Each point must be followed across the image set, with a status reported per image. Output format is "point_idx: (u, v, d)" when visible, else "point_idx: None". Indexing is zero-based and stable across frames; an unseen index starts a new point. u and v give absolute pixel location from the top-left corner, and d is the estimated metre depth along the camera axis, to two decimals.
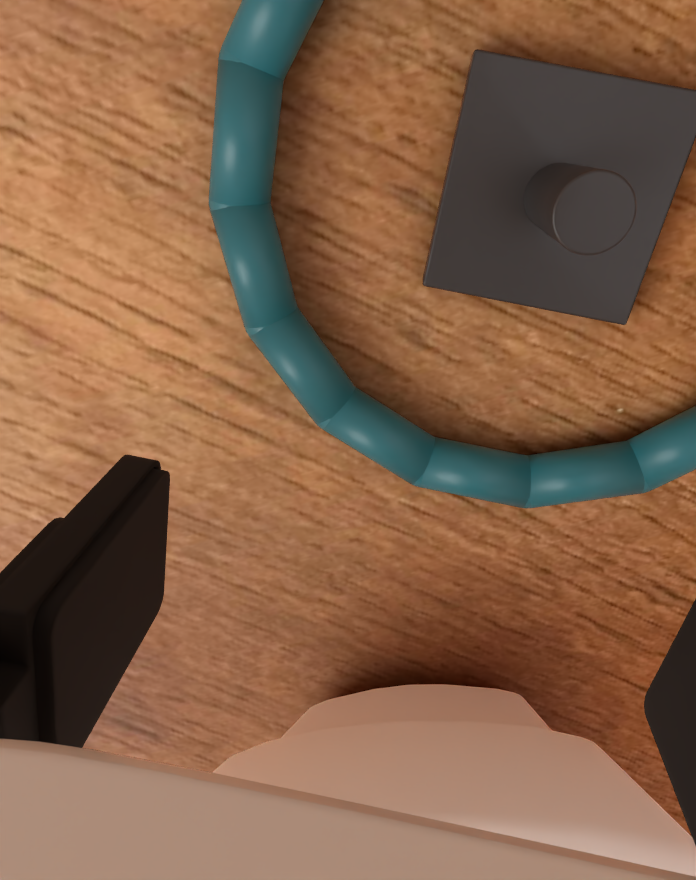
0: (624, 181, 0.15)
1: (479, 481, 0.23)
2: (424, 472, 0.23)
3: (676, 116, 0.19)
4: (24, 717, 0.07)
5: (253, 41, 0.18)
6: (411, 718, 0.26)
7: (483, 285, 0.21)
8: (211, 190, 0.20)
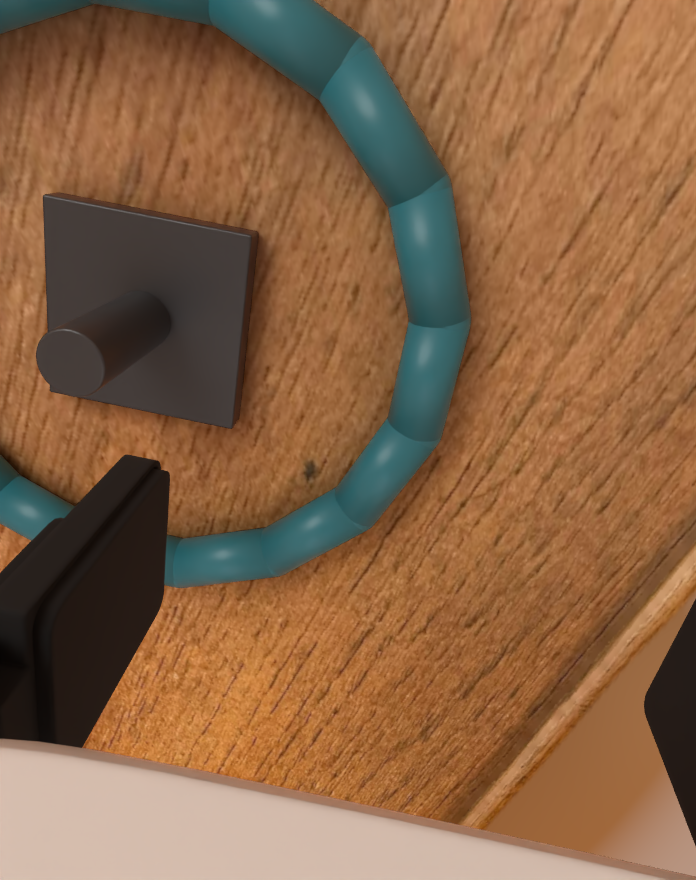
0: (98, 384, 0.18)
1: None
2: None
3: (214, 406, 0.23)
4: (24, 717, 0.07)
5: None
6: None
7: (55, 258, 0.22)
8: None
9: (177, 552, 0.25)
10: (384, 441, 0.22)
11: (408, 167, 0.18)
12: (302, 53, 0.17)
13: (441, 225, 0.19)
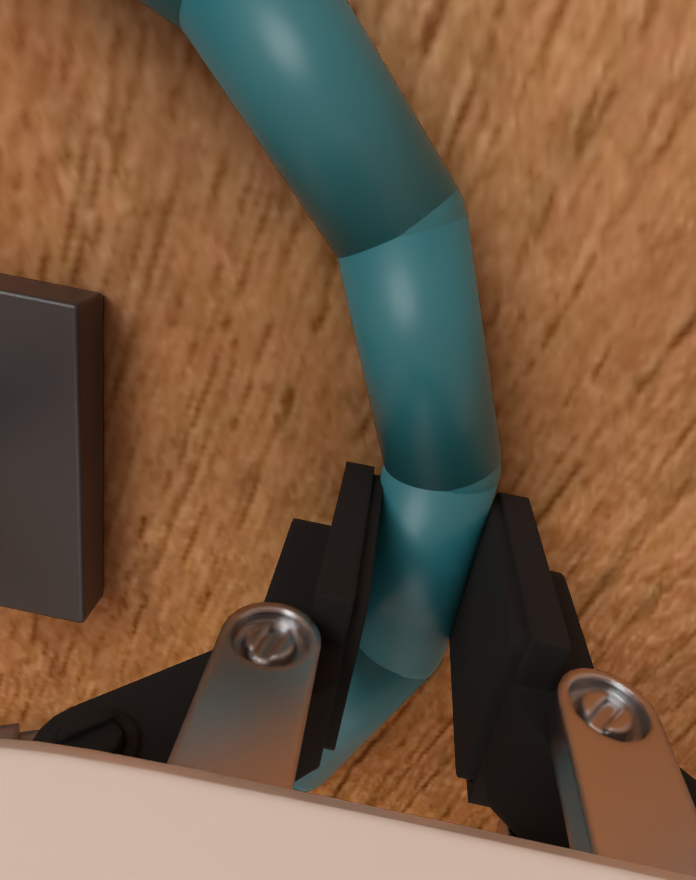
0: None
1: None
2: None
3: (48, 590, 0.13)
4: None
5: None
6: None
7: None
8: None
9: None
10: None
11: (374, 176, 0.08)
12: None
13: (445, 297, 0.09)
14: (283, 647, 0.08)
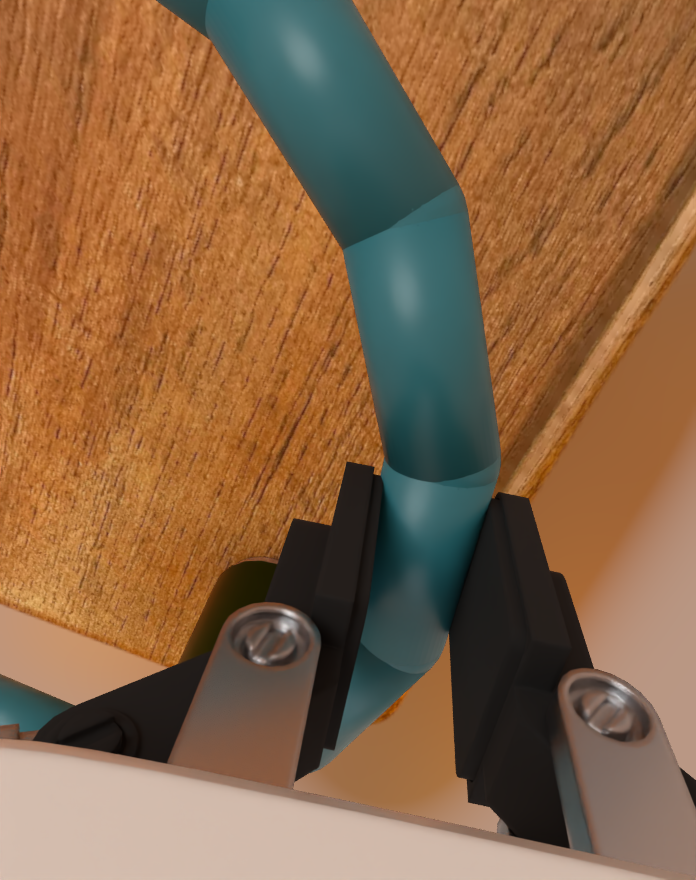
0: None
1: None
2: None
3: None
4: None
5: None
6: None
7: None
8: None
9: None
10: None
11: (367, 171, 0.09)
12: None
13: (435, 289, 0.09)
14: (283, 647, 0.08)
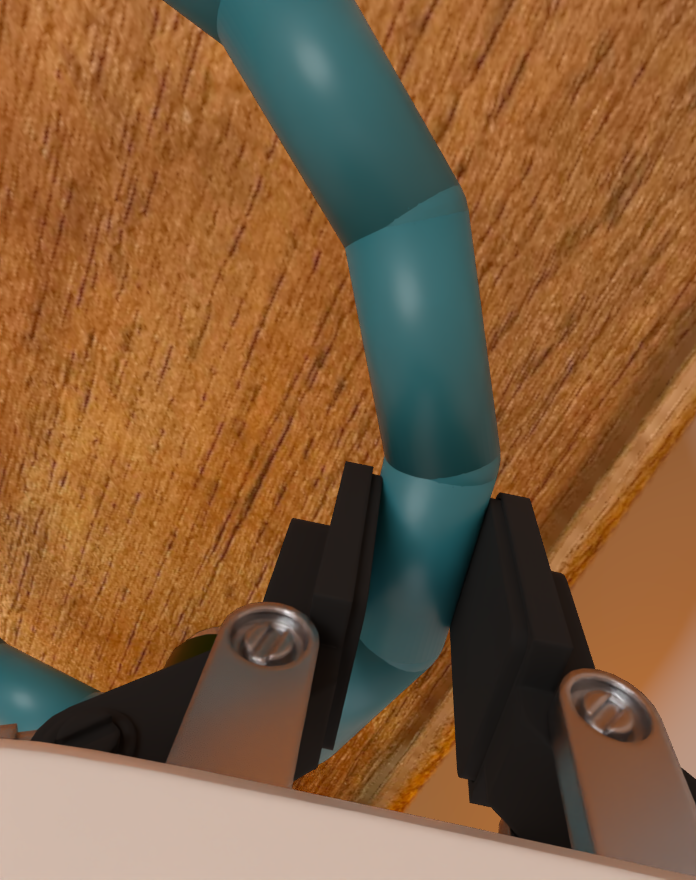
0: None
1: None
2: None
3: None
4: None
5: None
6: None
7: None
8: None
9: None
10: None
11: (365, 170, 0.09)
12: None
13: (430, 287, 0.09)
14: (281, 647, 0.08)
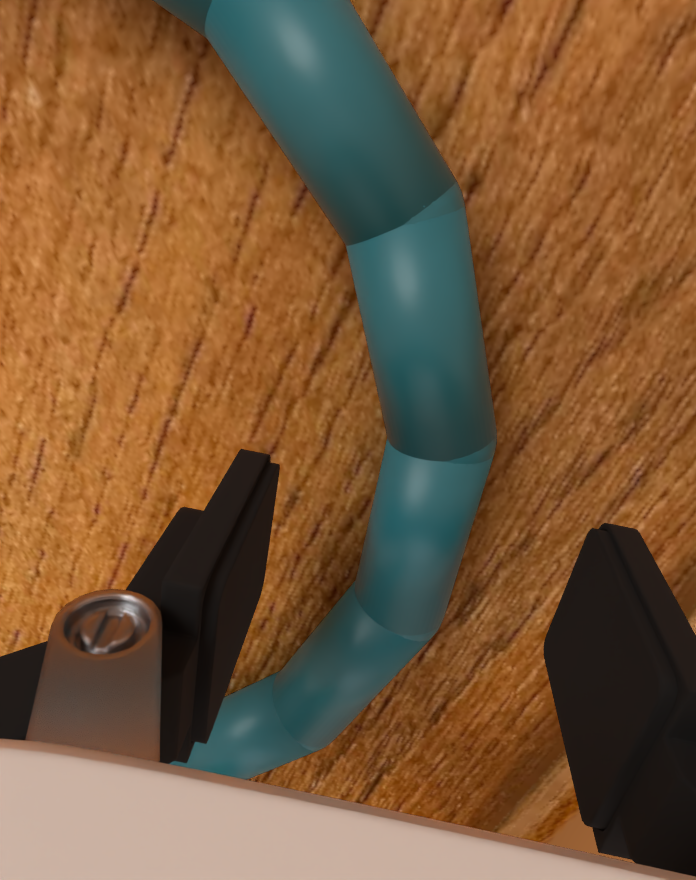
0: None
1: None
2: None
3: None
4: (190, 683, 0.08)
5: None
6: None
7: None
8: None
9: None
10: (348, 628, 0.13)
11: (380, 170, 0.09)
12: None
13: (444, 281, 0.10)
14: (119, 635, 0.07)
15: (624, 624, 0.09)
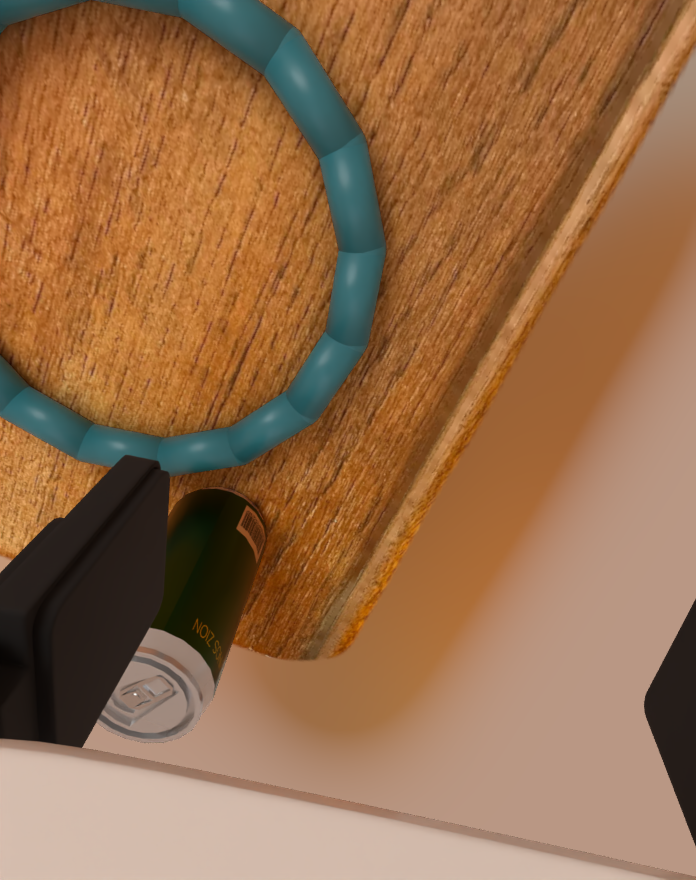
0: None
1: None
2: None
3: None
4: (24, 717, 0.07)
5: None
6: None
7: None
8: None
9: (160, 446, 0.31)
10: (322, 347, 0.28)
11: (331, 127, 0.24)
12: (248, 39, 0.23)
13: (357, 172, 0.25)
14: None
15: None
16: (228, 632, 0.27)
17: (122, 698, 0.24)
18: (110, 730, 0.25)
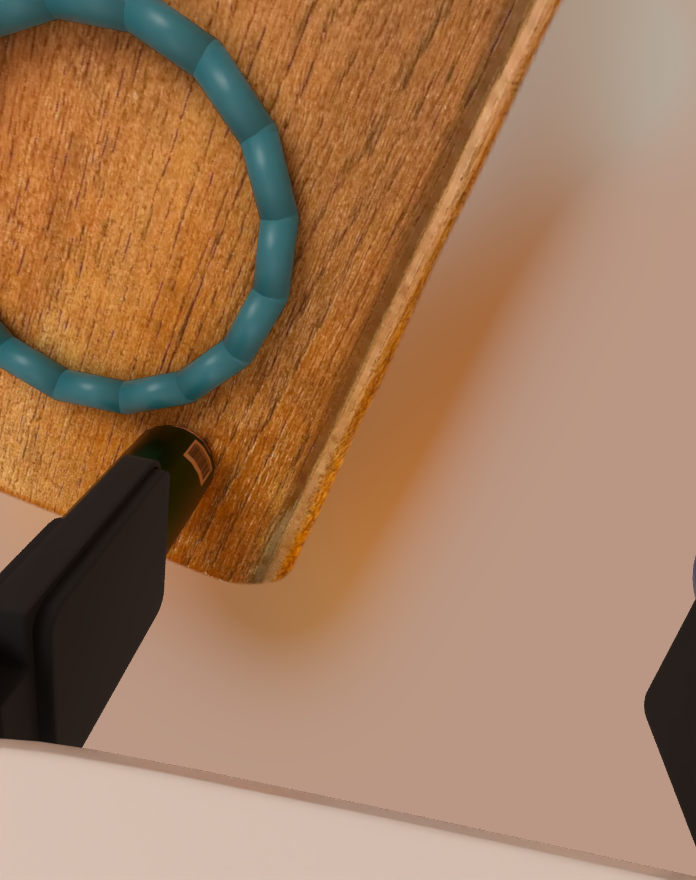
0: None
1: None
2: None
3: None
4: (24, 717, 0.07)
5: (137, 12, 0.29)
6: None
7: None
8: None
9: (121, 387, 0.38)
10: (250, 300, 0.35)
11: (246, 118, 0.30)
12: (179, 49, 0.29)
13: (269, 154, 0.31)
14: None
15: None
16: (168, 530, 0.33)
17: None
18: None
